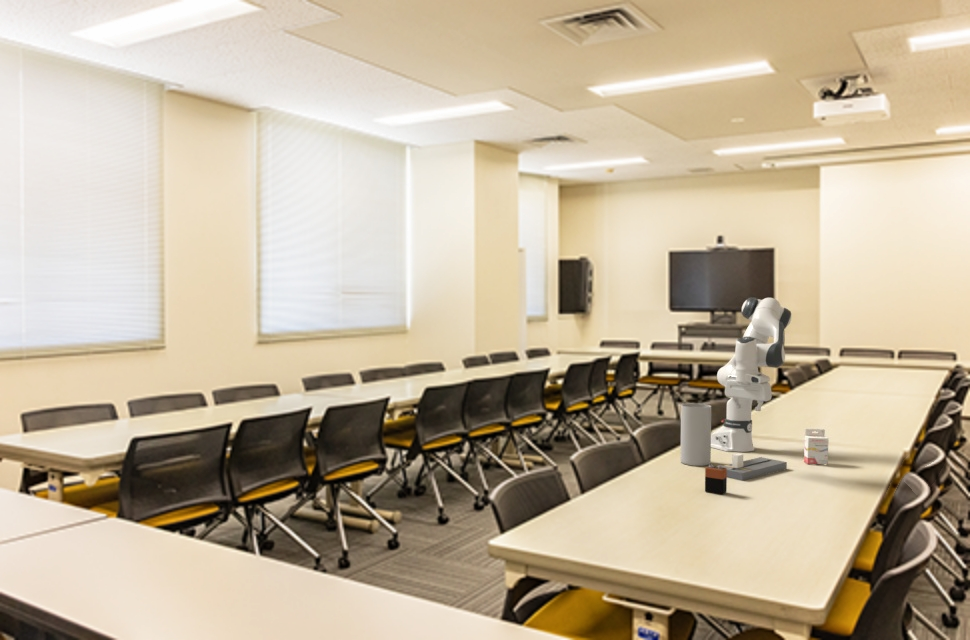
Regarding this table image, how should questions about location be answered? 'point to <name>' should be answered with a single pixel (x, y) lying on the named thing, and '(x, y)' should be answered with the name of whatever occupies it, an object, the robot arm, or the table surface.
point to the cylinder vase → (695, 434)
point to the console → (755, 468)
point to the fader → (737, 460)
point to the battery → (715, 479)
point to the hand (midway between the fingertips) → (748, 409)
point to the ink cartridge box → (816, 447)
